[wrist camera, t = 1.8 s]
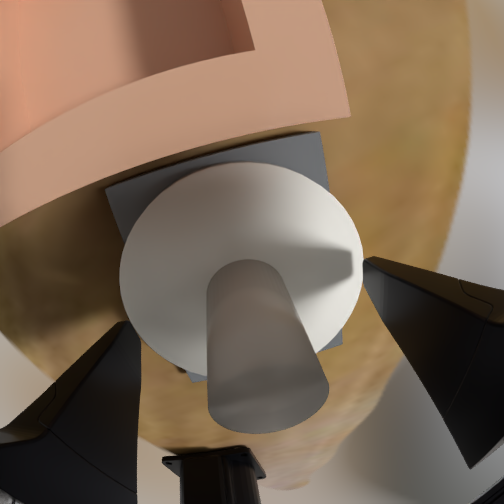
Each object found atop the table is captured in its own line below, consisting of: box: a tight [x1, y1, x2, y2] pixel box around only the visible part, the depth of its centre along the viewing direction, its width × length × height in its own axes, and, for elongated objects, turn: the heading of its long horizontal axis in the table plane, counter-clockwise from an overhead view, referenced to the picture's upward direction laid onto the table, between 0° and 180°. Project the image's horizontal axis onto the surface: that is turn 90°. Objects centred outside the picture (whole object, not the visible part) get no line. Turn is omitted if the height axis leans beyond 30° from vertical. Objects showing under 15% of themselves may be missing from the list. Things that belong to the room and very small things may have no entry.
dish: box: [0, 0, 351, 227], centre depth 5 cm, size 10×10×4 cm
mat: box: [105, 131, 342, 383], centre depth 10 cm, size 9×7×1 cm
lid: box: [119, 161, 363, 434], centre depth 8 cm, size 8×8×5 cm
